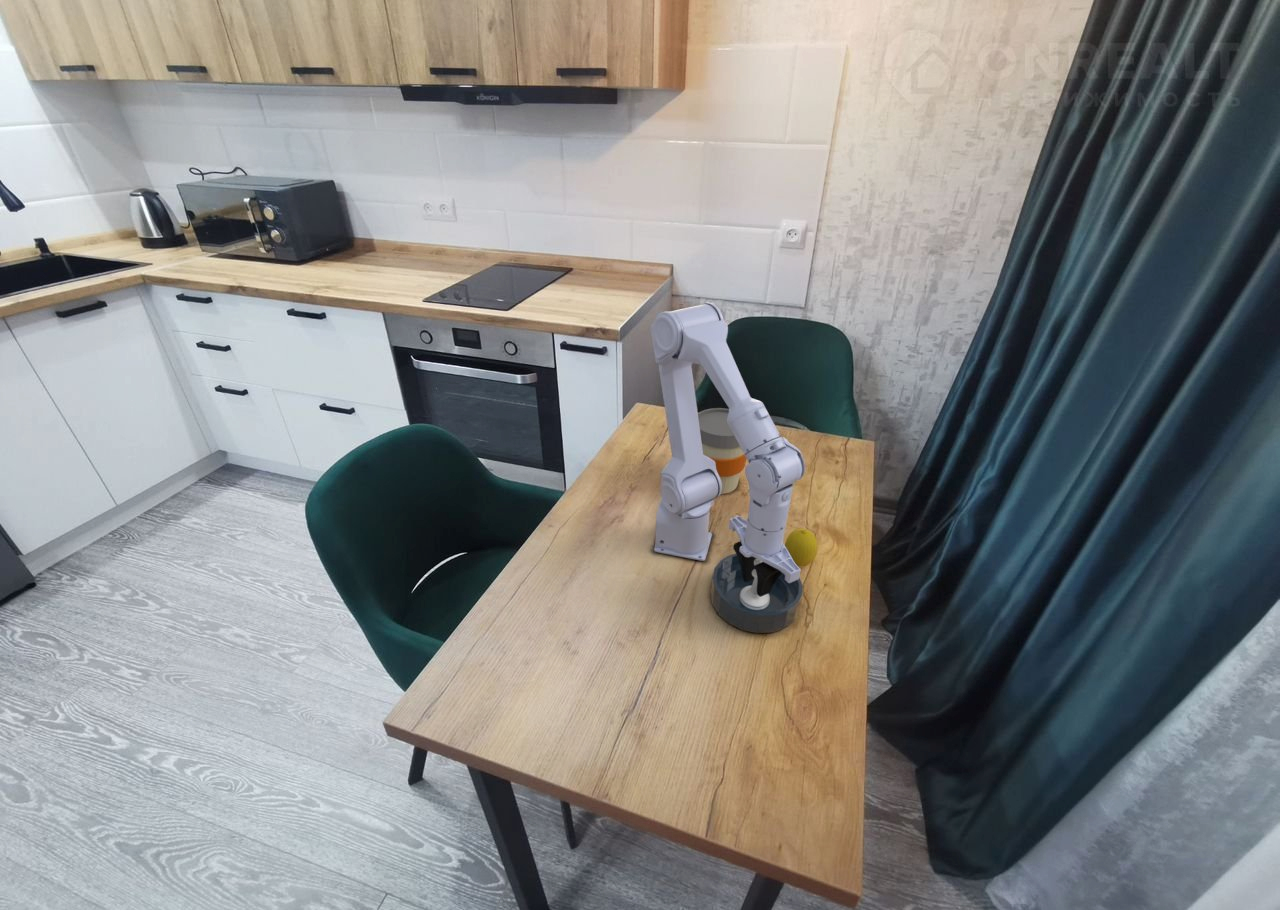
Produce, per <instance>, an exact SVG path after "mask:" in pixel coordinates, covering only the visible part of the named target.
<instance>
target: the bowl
mask: <svg viewBox="0 0 1280 910" xmlns="http://www.w3.org/2000/svg"><path fill="white" fill-rule="evenodd" d="M753 581H754V579H753V580H751V581H748V582H745V581H744V580H743V575H742V570H741V565H740V562H739V559H738V556H737V554H736V552H735V553H731V554H729V555H728V556H726V557H724V558H723V559H721V560H720V561H719V562H718V563H717V564H716V566H715V567H714V570H713V573H712V579H711V587H710V588H711V589H710V599H711V603H712V606H713V607H714V609H715V611H716V612H717V614H718V615H719V616H720V617H721V618H723V619H724V620H725V621H726V622H727V623H728V624H730V625H732V626H734V627H736V628H738V629H740V630H742V631H745V632H751V633H755V634H765V633H766V634H767V633H769V634H770V633H775V632H778V631H782V630H783V629H785V628H787V627H788V626H789V625H791V624H793V622H795V619H796V618H797V616H798V614H799V611H800V607H801V603H802V598H803V587H804V585H803V583H802V580H801V578H800V576H799V579H798V580H796V581H794V582H791V583H788V582H787V581H786V580H785V575H784V574H782V575H781V576H780V577H779V578H778V579H777V581H776V582H775V584H774V585H773V587H772V589H771V591H770V593H768V594H769V596H770V603H769V605H768V606H767V607H766V608H764V609H761V610H753V609H750V608H747V607H746V606H744V605H743V604H742V603H741V601H740V598H739V596H740V593H741V590H742V589H743V588H744V587H746V586H750V585H752V584H753Z"/></svg>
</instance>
